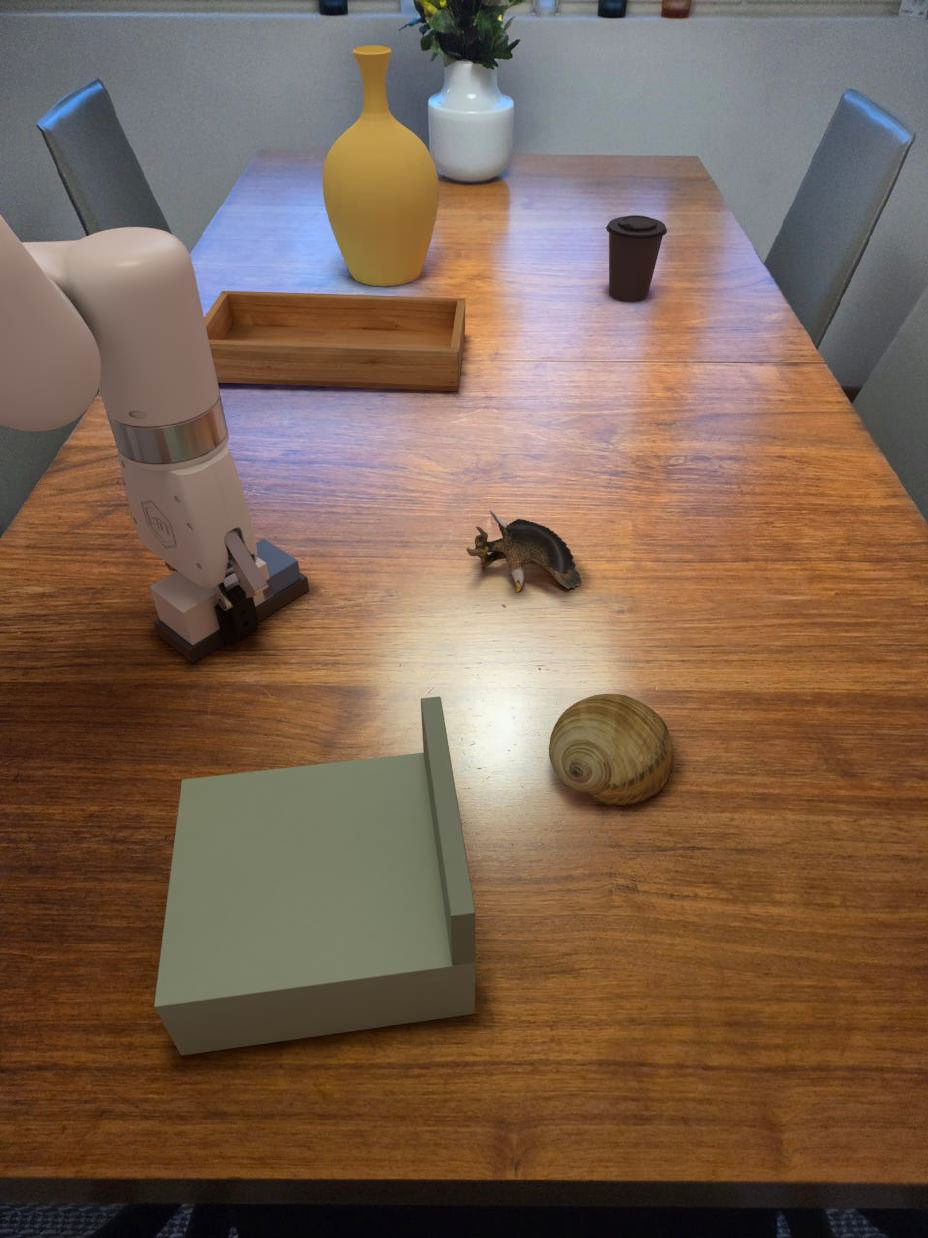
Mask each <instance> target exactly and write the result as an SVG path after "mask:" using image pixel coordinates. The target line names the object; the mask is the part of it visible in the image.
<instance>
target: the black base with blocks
mask: <svg viewBox="0 0 928 1238" xmlns="http://www.w3.org/2000/svg"><path fill="white" fill-rule="evenodd" d="M256 545H257V560H256V565H257V567H258V568H259V570H260V572H261V573H262V575H263V577H264V578H265V580H266V582H267V584H268V588H267V589H265V590H263V591H262V592H260V593H258V594H257V595H255V596H253V599H254V603H255V608H256V612H257V617H258V621H259V623H260V622H262V621H263V620H264V619H266V618H268V617H270V616H271V615H272V614H274V613H276V612H277V611H279V610H281V609H283V608H284V607H285V606H286V605H288V604H290V603H292V602H293V601H294V600H296V599H298V598H299V597H301V596H302V595H304V594H306V593H308V592H309V591H310V586H309V579H308V576H307V575H305V574H303V573H302V572H300V565H299V561H298V559H297V558H294V557H293V556H291V555H290V554H288V553H287V552H285V551H284V550H283V549H280V548H279V547H278V546H276V545H275V544H273V543H271V542H270V541H268V540H266V539H265V538H262V539H261V540H259V541H256ZM223 582H224V585H225V587H226V590H227V591H229V590H230V589H231V588H233V587H234V586H236V585H238V584H239V582H238V579H237V577H236V574H235V573H233V574H232V575H230V576H228V577H226V578H225V579H224V581H223ZM148 588H149V591H150V594H151V597H152V600H153V604H154V607H155V609H156V613H157V616H158V618H157V619H155V620H153V621H152V623H153V626H154V629H155V632H156V635H157V636H158V637H159V638H160V639H161V640H163V641H164V642H165V643H167V644H168V645H169V646H171V647H172V648H173V649H174V650H175V651H177V652H178V653H179V654H180V655H181V656H183V657H184V658H185V659H187V661H189V662H191V663H192V664H195V663H197V662H198V661H200V660H201V659H203V658H204V657H206V656H208V655H209V654H211V653H213V652H214V651H216V650H217V649H219V648H220V647H222V646H223V645H225V644H226V643H225V642H224V641H223V638H222V634H221V631H220V627H219V623H218V619H217V615H216V612H215V608H214V606H216V605H217V604H218V601H217V598H216V596H215V594H214V591H213V589H212V588H205V587H202V586H200V585H198V584H196V583H194V582H193V581H191V580H190V579H188V578H187V577H186V576H184V575H183V574H181V573H180V572H179V571H174V572H172V573H171V574H169V575H167V576H165V577H163V578H162V579H159V581H158V580H157V581H156V582H155V583H153V584H151V585H150V586H148Z"/></svg>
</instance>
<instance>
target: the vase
mask: <svg viewBox="0 0 928 1238" xmlns="http://www.w3.org/2000/svg"><path fill="white" fill-rule="evenodd" d="M352 54H353V57H354V59H355V62H356V65H357V66H358V69H359V72H360V75H361V79H362V88H363V100H362V101H363V102H362V103H363V104H362V111H361V113H360V116H359V118H357V120H356V121H355V122H354V123H353V124H352V125H351V126H350V127H348V129H346V130H345V131H344V132H343V133H341V135H340V136H339V137H337V140H335V142H334V143H333V144H332V145H331V147H330V148H329V151H328V152H327V155H326V157H325V160H324V163H323V169H322V178H321V179H322V181H321V182H322V193H323V201H324V207H325V211H326V215H327V218H328V221H329V224H330V228H331V231H332V235H333V236H334V239H335V241H336V244H337V247H338V249H339V251H340V254H341V256H342V259H343V261H344V263H345V265H346V267H347V270H348V272H349V273H350V276H351V278H353V280H354V281H356V282H358V283H361V284H363V285H367V286H372V287H396V286H401V285H405V284H408V283H412V282H413V281H415V280H417V279H418V278H420V275H421V274H422V271H423V268H424V264H425V261H426V260H427V256H428V252H429V249H430V246H431V242H432V238H433V234H434V230H435V226H436V220H437V216H438V208H439V201H440V183H439V176H438V171H437V167H436V164H435V162H434V160H433V158H432V155H431V153H430V151H429V149H428V148H427V146H426V145H425V143H424V142H423V141H422V139H421V138H420V137H419V136H417V134H415V133H414V132H413V131H412V130H411V129H409V128H407V127H406V126H405V125H403V124H402V123H401V122H400V121H398V119H396V118H395V117H394V116H393V115H392V113H391V111H390V108H389V103H388V99H387V89H386V77H387V71H388V67H389V64H390V59H391V56H392V48H390V47H388V46H385V45H375V44H374V45H362V46H357V47H354V48H353V49H352Z"/></svg>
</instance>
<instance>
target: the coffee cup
mask: <svg viewBox="0 0 928 1238" xmlns="http://www.w3.org/2000/svg"><path fill="white" fill-rule="evenodd" d="M605 229H606V232H607V233H608V294H609V295H608V296H610V297H611V298H612V299H613V300H615V301H619V302H623V303H637V302H642V301H645V300H646V299H647V298H648V296H649V292H650V289H651V285H652V281H653V276H654V273H655V270H656V269H655V268H656V265H657V261H658V256H659V252H660V250H661V249H660V248H661V245H662V241H663V237H664V236H665V235H666V234H667V232H668V229H667V227H666V224H665V223H664V222H663V221H661V220H659V219H656V218H653V217H649V216H645V215H638V214H636V215H635V214H633V215H625V216H619V217H616V218H615V217H614V218H613V219H611V220H609V222H608V224H607V225H606V226H605Z"/></svg>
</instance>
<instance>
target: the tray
mask: <svg viewBox="0 0 928 1238" xmlns="http://www.w3.org/2000/svg"><path fill="white" fill-rule="evenodd" d="M204 320H205V325H206V330H207V335H208V339H209V344H210V349H211V353H212V358H213V363H214V367H215V372H216V376H217V381H218V384H251V385H252V384H253V385H254V384H255V385H256V384H257V385H262V384H263V385H285V386H286V385H288V386H312V387H313V386H314V387H315V386H316V387H345V388H365V389H366V388H368V389H393V390H396V389H397V390H400V389H401V390H417V391H419V390H420V391H421V390H422V391H424V390H425V391H450V392H458V391H459V389H460V380H461V373H462V364H463V356H464V355H463V354H464V346H465V336H466V298H464V297H439V296H437V297H436V296H409V295H408V296H407V295H406V296H404V295H372V294H344V293H343V294H342V293H341V294H340V293H339V294H338V293H315V292H314V293H313V292H281V291H278V292H277V291H250V290H249V291H248V290H247V291H243V290H239V291H238V290H222V291H221V292H220V293H219V295H218V296H217V297H216V299H215V301H214V302H213V304H212V305H211V307H210V308H209V310H208V311H207V313H206V314H205V316H204Z"/></svg>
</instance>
